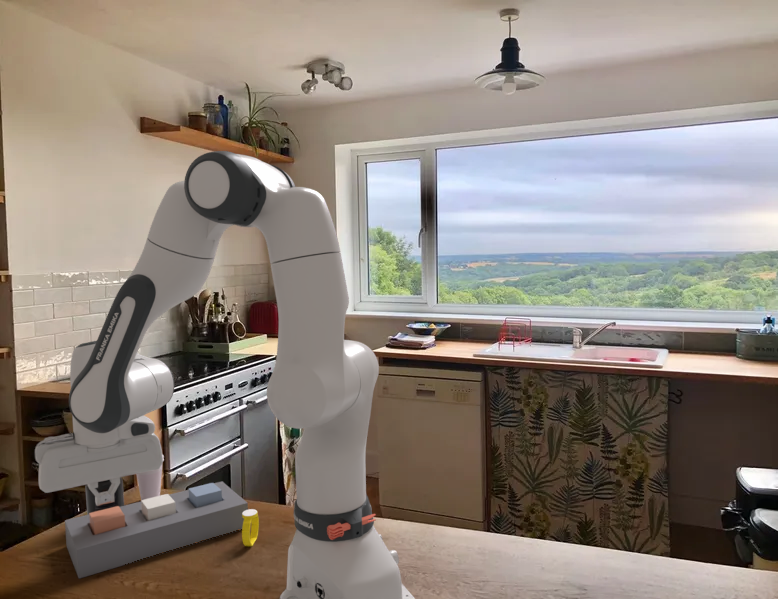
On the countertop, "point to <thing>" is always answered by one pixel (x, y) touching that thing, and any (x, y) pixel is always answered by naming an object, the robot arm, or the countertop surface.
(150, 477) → the smoothie
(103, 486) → the supplement bottle
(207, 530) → the key panel
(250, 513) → the watch
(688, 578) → the countertop surface
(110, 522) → the terracotta key
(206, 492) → the slate blue key
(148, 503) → the white key
